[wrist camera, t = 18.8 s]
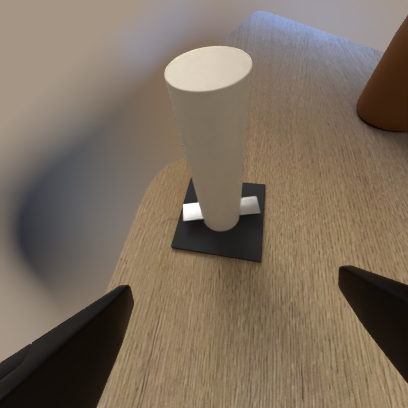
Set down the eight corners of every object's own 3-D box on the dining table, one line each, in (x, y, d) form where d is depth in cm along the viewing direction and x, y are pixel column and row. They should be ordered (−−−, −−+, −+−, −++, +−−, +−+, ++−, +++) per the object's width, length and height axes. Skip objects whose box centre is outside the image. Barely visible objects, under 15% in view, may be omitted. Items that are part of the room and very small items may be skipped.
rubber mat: (260, 262, 17) (261, 261, 16) (171, 247, 18) (171, 246, 18) (264, 186, 20) (265, 184, 20) (191, 179, 22) (190, 177, 22)
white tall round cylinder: (253, 194, 20) (282, 33, 9) (261, 227, 18) (311, 75, 7) (185, 202, 20) (129, 59, 9) (185, 235, 18) (117, 105, 7)
